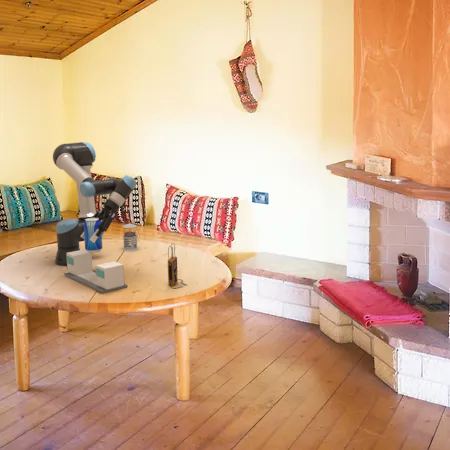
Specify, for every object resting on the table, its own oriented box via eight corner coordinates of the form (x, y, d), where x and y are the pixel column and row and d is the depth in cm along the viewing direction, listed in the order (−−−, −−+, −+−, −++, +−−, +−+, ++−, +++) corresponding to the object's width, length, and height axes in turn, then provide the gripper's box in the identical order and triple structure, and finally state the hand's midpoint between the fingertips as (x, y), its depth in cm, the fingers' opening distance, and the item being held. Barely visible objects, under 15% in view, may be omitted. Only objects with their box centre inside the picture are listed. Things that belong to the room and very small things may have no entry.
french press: (130, 246, 390) (128, 205, 385) (144, 248, 384) (143, 207, 378) (118, 249, 382) (116, 208, 377) (133, 252, 376) (131, 210, 370)
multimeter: (186, 289, 310) (185, 249, 305) (166, 288, 312) (164, 248, 307) (193, 280, 324) (192, 241, 319) (174, 279, 326) (173, 240, 321)
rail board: (64, 275, 333) (62, 253, 331) (88, 270, 342) (87, 248, 340) (102, 293, 305) (101, 269, 303) (127, 287, 314) (126, 263, 312)
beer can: (87, 248, 324) (85, 217, 320) (104, 248, 324) (102, 217, 320) (83, 253, 316) (81, 221, 312) (101, 253, 316) (99, 220, 312)
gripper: (130, 210, 317) (103, 247, 311) (107, 204, 333) (81, 240, 326) (120, 201, 313) (93, 239, 306) (98, 195, 329) (71, 231, 322)
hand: (87, 239), depth 316 cm, fingers closed on beer can, 8 cm apart
